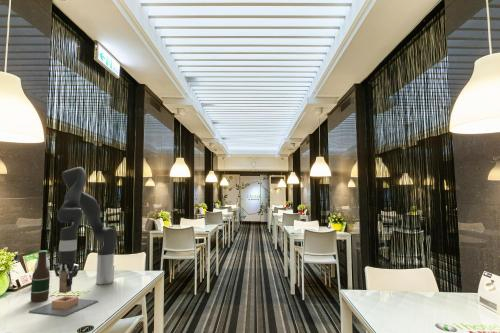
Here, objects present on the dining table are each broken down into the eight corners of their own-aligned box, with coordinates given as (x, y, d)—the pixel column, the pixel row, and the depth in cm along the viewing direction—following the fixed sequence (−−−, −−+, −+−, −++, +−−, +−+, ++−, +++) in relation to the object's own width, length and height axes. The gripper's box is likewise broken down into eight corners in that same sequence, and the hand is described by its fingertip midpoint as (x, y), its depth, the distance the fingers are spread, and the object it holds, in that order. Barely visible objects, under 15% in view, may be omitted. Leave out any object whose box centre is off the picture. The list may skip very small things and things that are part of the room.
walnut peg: (65, 290, 150) (66, 269, 151) (71, 291, 149) (72, 269, 151) (59, 292, 147) (60, 270, 148) (64, 293, 146) (66, 271, 147)
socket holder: (65, 298, 160) (65, 291, 160) (98, 301, 155) (98, 294, 155) (28, 312, 141) (29, 304, 141) (64, 316, 136) (65, 307, 136)
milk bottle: (29, 286, 182) (32, 251, 184) (41, 283, 190) (43, 249, 192) (40, 287, 180) (42, 252, 182) (51, 283, 188) (53, 250, 190)
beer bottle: (32, 298, 160) (35, 251, 163) (50, 296, 163) (53, 250, 165) (28, 303, 153) (31, 253, 155) (46, 301, 156) (49, 252, 158)
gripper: (85, 248, 152) (83, 285, 150) (62, 247, 156) (60, 283, 154) (73, 251, 145) (71, 289, 143) (49, 249, 149) (46, 287, 147)
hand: (65, 285), depth 149 cm, fingers closed on walnut peg, 3 cm apart
